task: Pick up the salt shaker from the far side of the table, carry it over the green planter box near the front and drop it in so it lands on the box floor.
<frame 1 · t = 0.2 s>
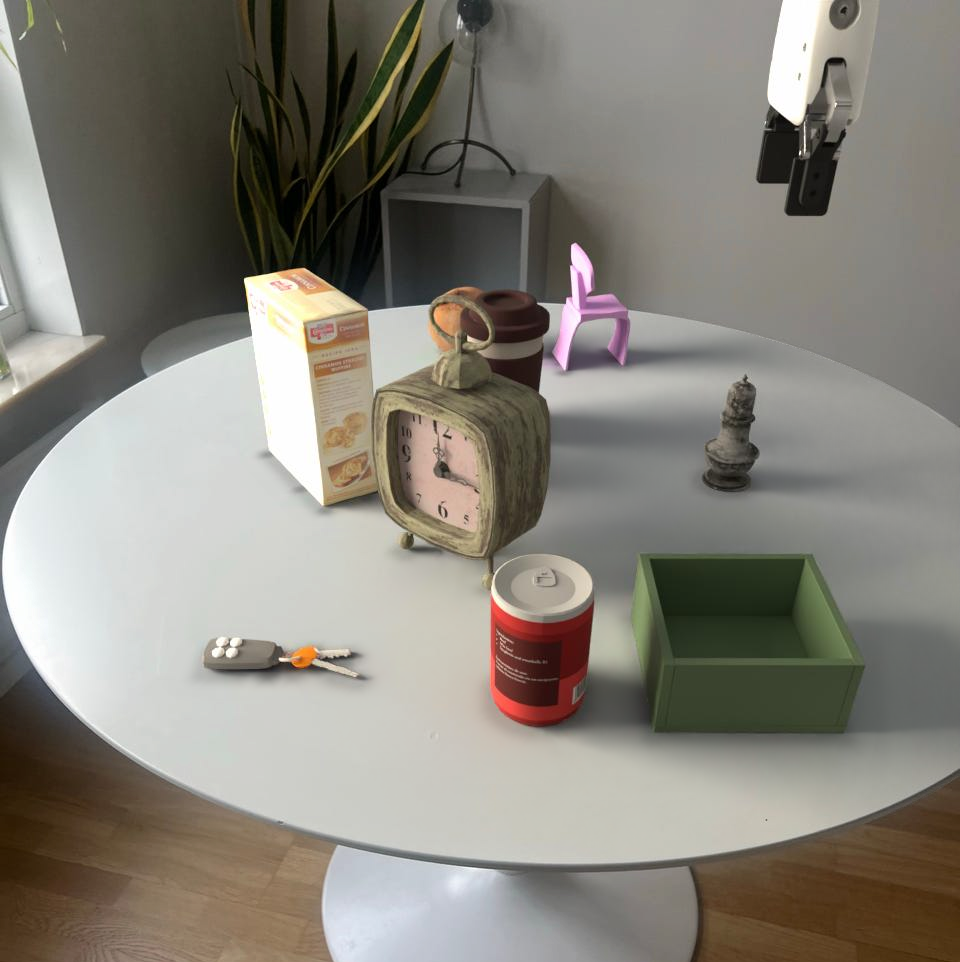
hand: (788, 198, 78), 31 cm above the table, tool pointing down, fingers open, 9 cm apart
key chain: (284, 664, 81), on the table
coffeecake box: (323, 471, 106), on the table
green planter box: (729, 671, 80), on the table
onion: (464, 354, 132), on the table
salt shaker: (726, 481, 105), on the table
coffee cup: (503, 426, 115), on the table
canned food: (537, 696, 77), on the table
toy chair: (589, 360, 130), on the table
tabletop clock: (466, 557, 93), on the table
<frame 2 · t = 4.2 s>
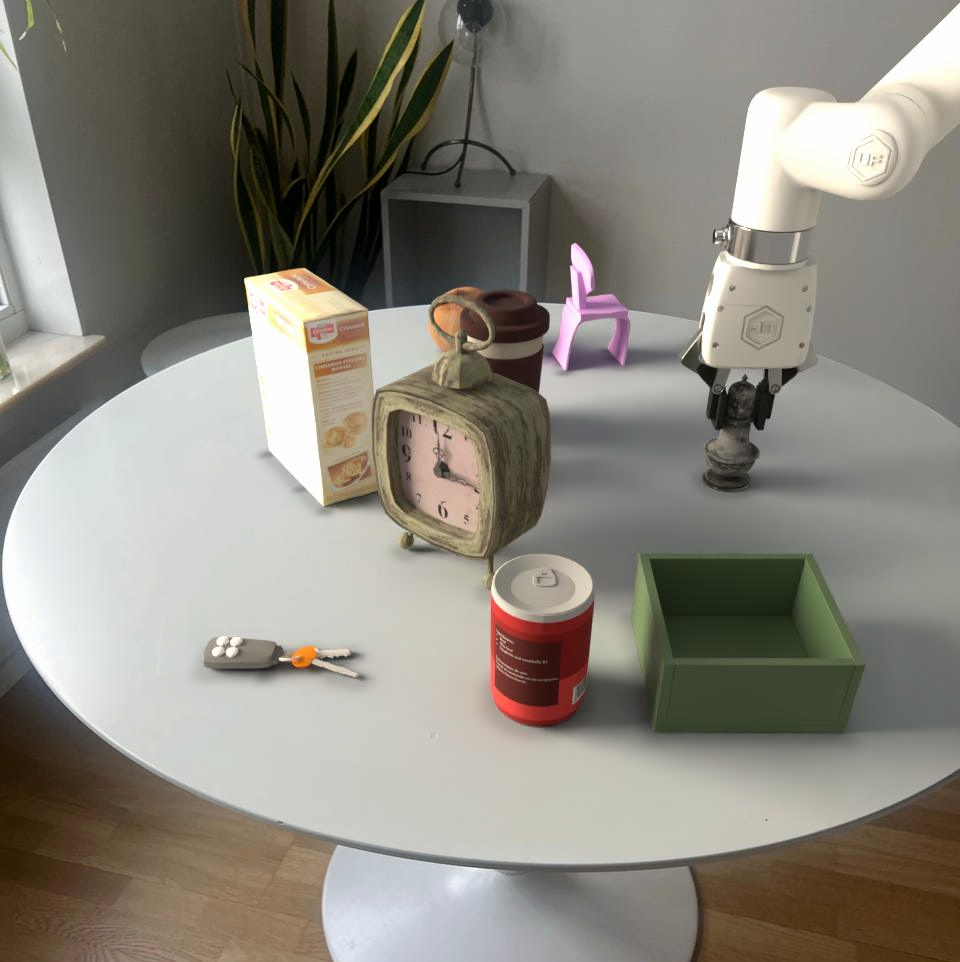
hand: (736, 423, 100), 7 cm above the table, tool pointing down, fingers closed on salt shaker, 3 cm apart
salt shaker: (726, 481, 105), on the table, touching gripper
everything else where it was.
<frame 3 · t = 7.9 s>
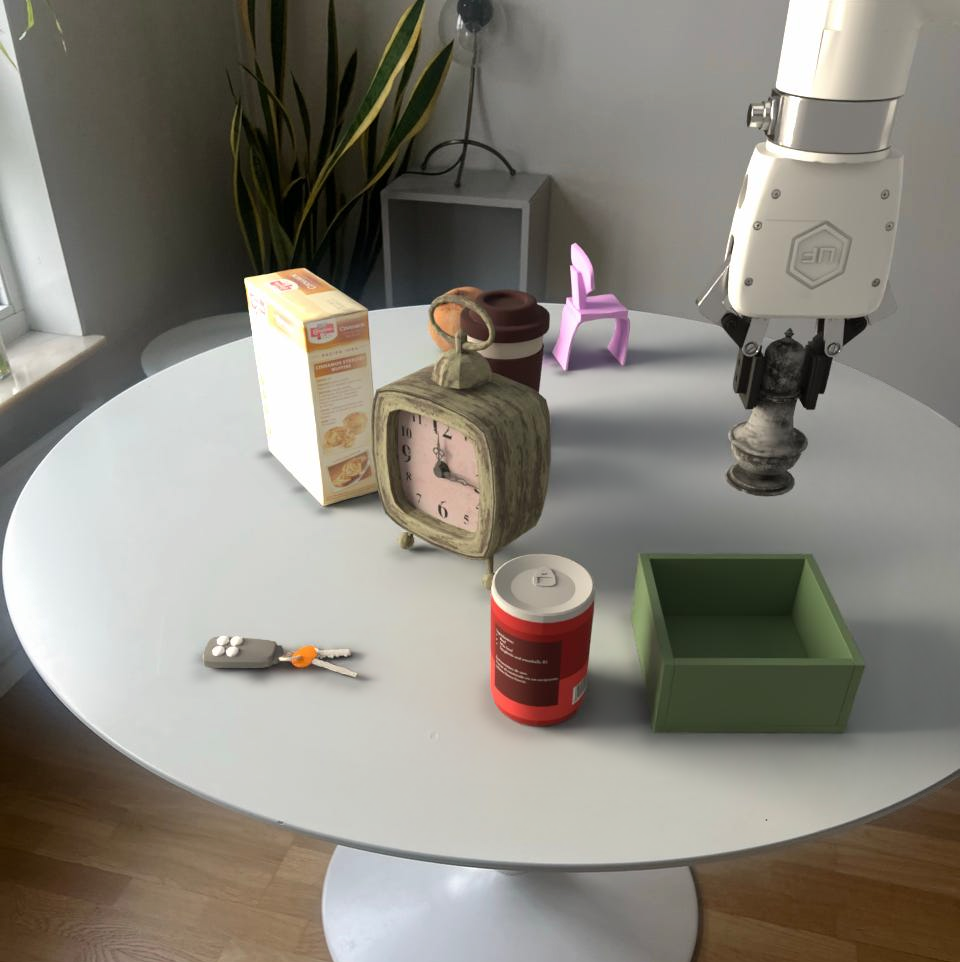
hand: (776, 399, 71), 21 cm above the table, tool pointing down, fingers closed on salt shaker, 3 cm apart
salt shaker: (759, 481, 75), point 14 cm above the table, touching gripper
everything else where it was.
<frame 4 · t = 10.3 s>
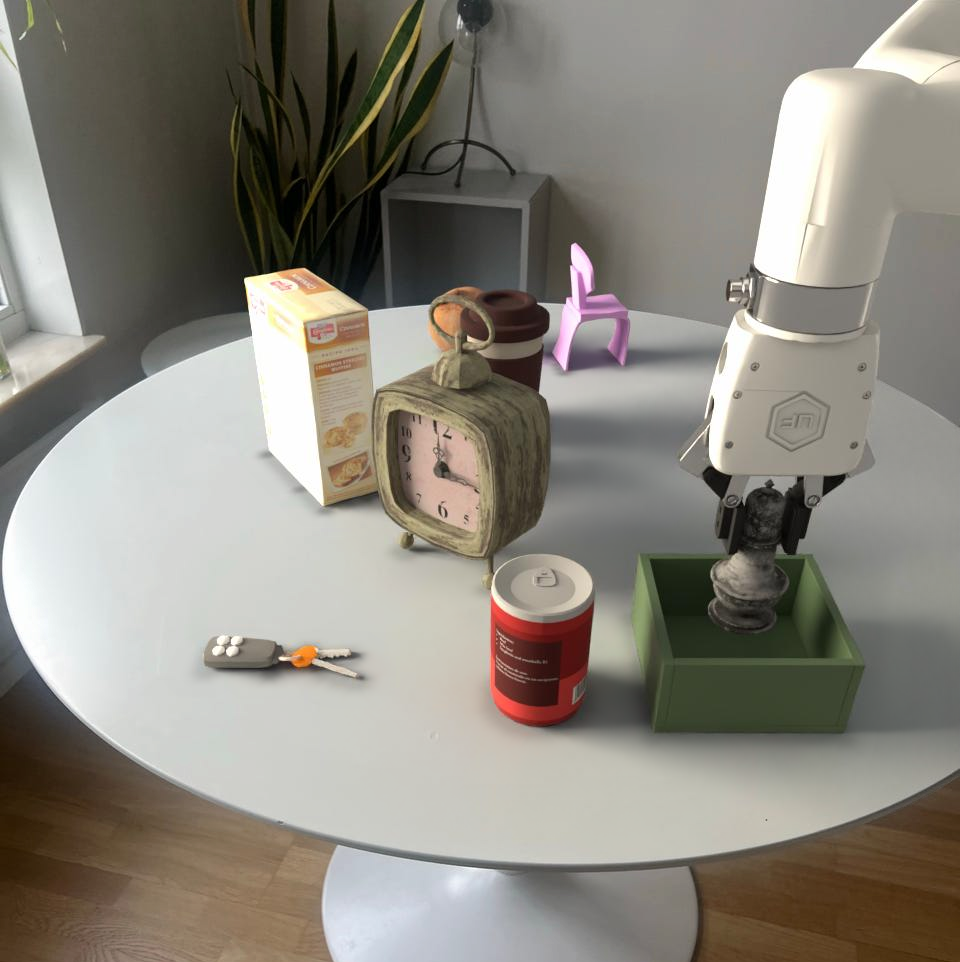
hand: (757, 543, 72), 13 cm above the table, tool pointing down, fingers closed on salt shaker, 3 cm apart
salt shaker: (741, 616, 76), point 6 cm above the table, touching gripper
everything else where it was.
when the fingers open (7 cm above the table, at t = 11.9 s): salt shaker stays where it is, resting on green planter box.
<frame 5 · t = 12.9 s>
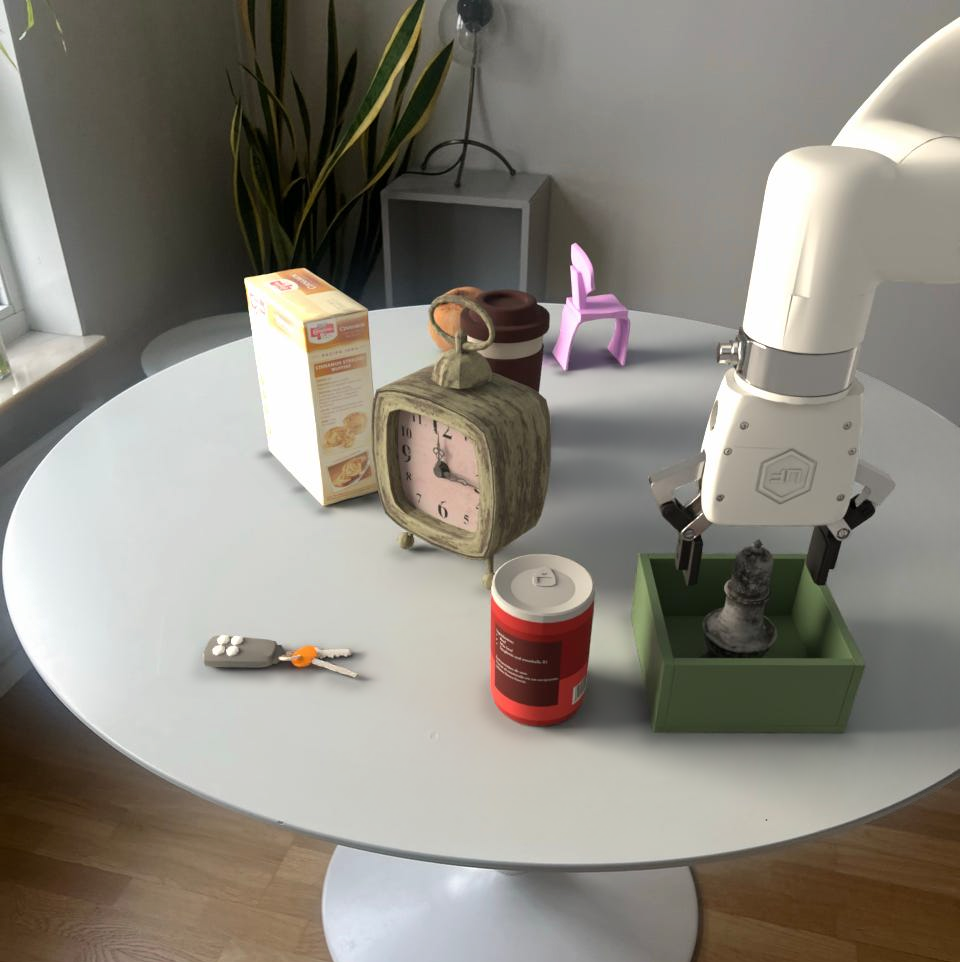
hand: (751, 575, 74), 10 cm above the table, tool pointing down, fingers open, 9 cm apart
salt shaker: (731, 664, 79), point 1 cm above the table, touching green planter box
everything else where it was.
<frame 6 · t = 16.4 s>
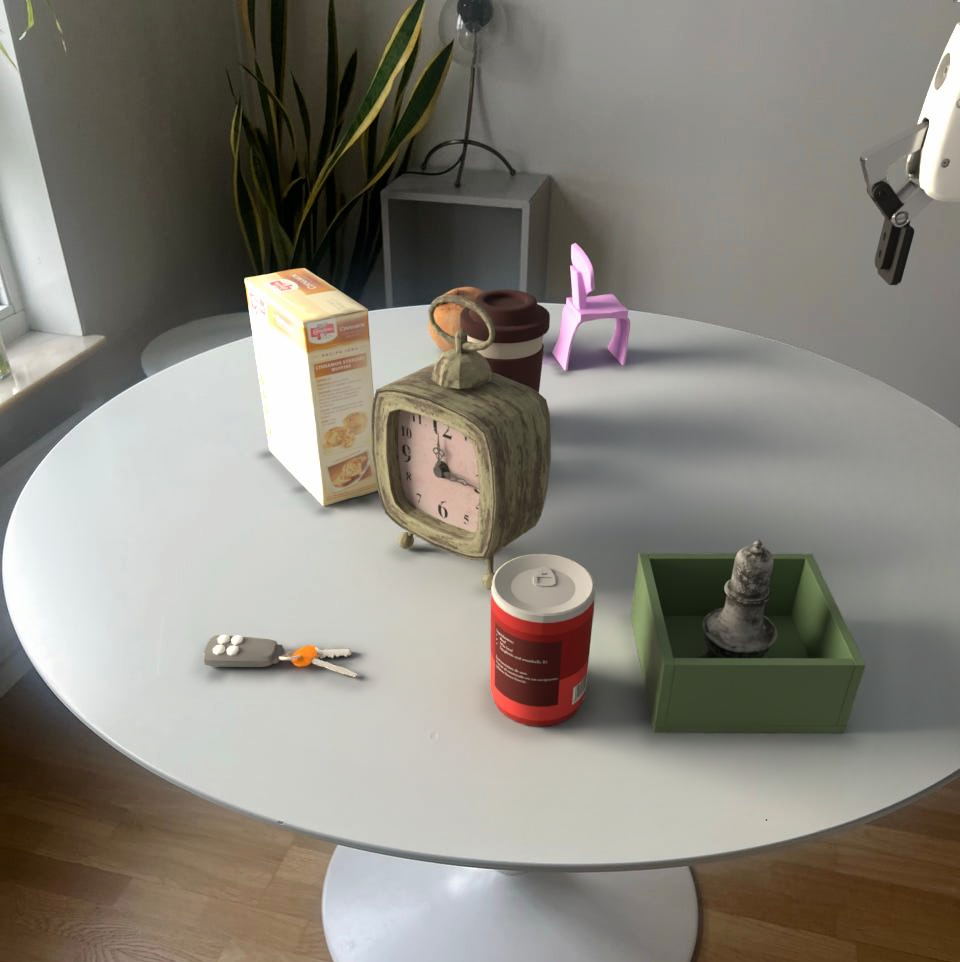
hand: (954, 279, 70), 28 cm above the table, tool pointing down, fingers open, 9 cm apart
nothing on the table moved.
at the end: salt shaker inside the target area in the green planter box (0.1 cm from its centre), point 0.6 cm above the green planter box's base; the gripper is holding nothing; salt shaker tilted 0° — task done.
